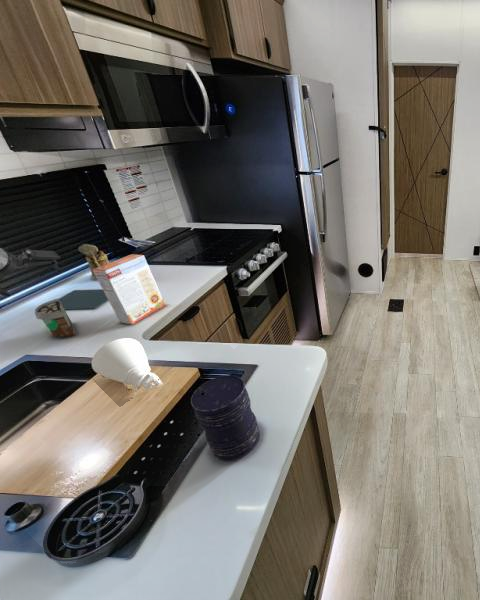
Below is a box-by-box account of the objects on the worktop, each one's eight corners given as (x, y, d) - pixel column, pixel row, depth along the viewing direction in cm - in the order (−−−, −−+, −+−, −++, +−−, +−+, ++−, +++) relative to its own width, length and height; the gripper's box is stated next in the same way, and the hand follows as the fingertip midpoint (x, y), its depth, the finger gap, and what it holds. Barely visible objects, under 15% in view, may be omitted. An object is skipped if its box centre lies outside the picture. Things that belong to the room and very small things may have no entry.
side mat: (40, 310, 124) (39, 309, 124) (74, 291, 138) (74, 290, 138) (94, 309, 125) (94, 308, 125) (123, 289, 139) (123, 288, 138)
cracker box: (153, 303, 128) (131, 253, 118) (166, 305, 126) (145, 254, 116) (118, 323, 116) (90, 268, 106) (132, 325, 115) (105, 270, 104)
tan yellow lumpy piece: (90, 285, 142) (69, 246, 133) (94, 274, 152) (74, 237, 143) (115, 280, 146) (97, 241, 138) (118, 270, 156) (100, 233, 148)
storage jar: (264, 420, 78) (250, 372, 71) (255, 457, 70) (237, 407, 62) (220, 426, 77) (200, 378, 69) (205, 465, 68) (181, 414, 61)
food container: (48, 329, 113) (32, 304, 108) (72, 322, 117) (57, 297, 112) (50, 345, 105) (32, 318, 100) (75, 337, 109) (59, 311, 104)
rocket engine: (149, 368, 80) (110, 333, 86) (117, 411, 78) (80, 372, 84) (187, 374, 91) (151, 343, 97) (160, 412, 89) (124, 377, 95)
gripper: (-63, 300, 79) (-7, 313, 98) (55, 245, 91) (84, 266, 109) (-89, 276, 78) (-28, 294, 96) (33, 223, 90) (67, 248, 108)
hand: (32, 279), depth 103 cm, fingers open, 13 cm apart
